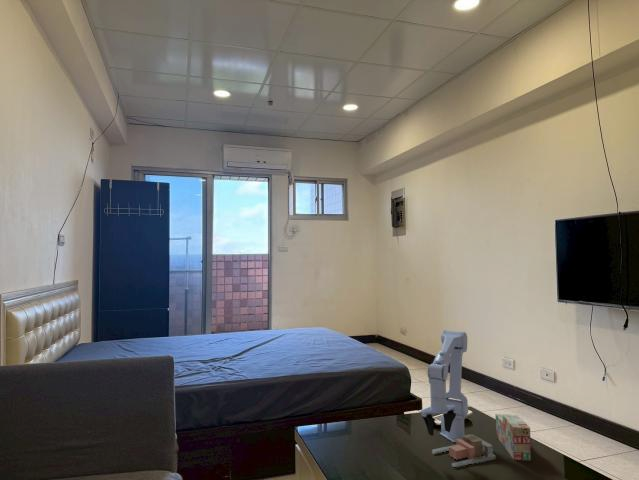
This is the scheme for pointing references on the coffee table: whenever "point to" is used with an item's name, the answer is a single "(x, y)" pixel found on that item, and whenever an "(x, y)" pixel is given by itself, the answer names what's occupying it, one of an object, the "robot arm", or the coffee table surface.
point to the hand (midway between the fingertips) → (439, 432)
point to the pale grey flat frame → (486, 452)
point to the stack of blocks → (514, 436)
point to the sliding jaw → (462, 450)
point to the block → (474, 444)
